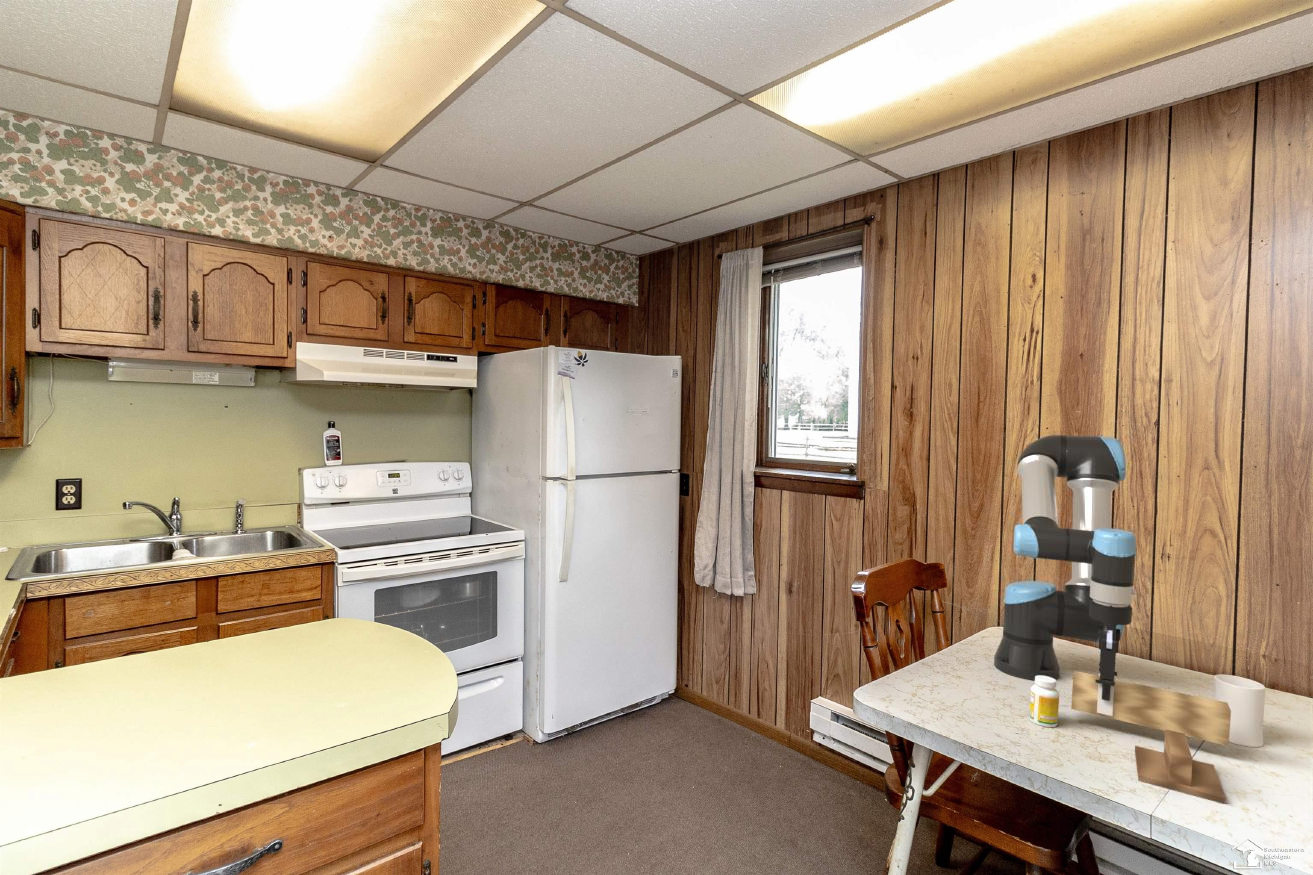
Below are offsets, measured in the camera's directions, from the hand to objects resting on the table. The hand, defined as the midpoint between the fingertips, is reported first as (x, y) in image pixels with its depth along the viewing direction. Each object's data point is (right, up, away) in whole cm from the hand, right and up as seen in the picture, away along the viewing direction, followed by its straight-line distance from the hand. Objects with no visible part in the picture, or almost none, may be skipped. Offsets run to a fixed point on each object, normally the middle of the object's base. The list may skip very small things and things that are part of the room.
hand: (1104, 708), depth 141 cm
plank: (+6, -1, -4) cm, 7 cm away
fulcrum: (0, -4, -19) cm, 20 cm away
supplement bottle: (-12, -4, +1) cm, 13 cm away
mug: (+27, -5, -1) cm, 28 cm away
